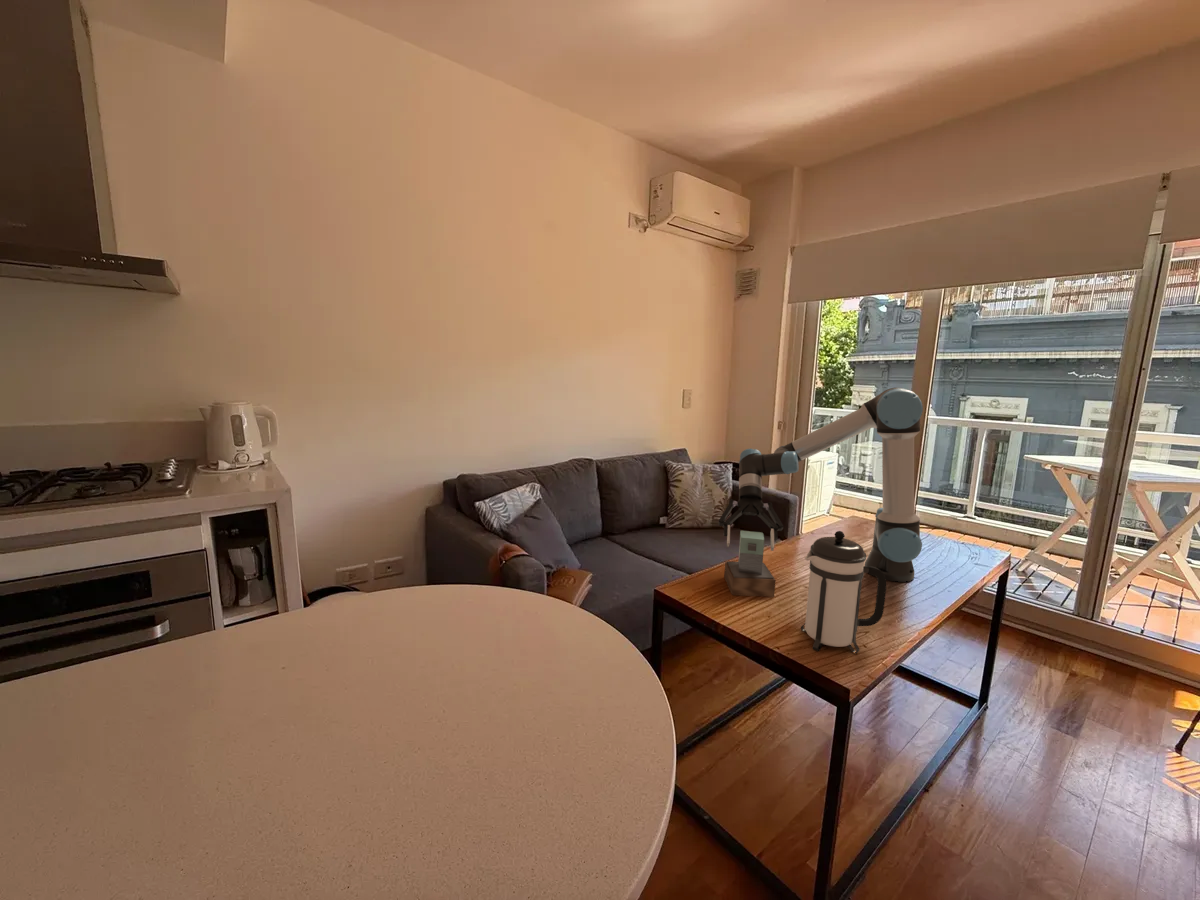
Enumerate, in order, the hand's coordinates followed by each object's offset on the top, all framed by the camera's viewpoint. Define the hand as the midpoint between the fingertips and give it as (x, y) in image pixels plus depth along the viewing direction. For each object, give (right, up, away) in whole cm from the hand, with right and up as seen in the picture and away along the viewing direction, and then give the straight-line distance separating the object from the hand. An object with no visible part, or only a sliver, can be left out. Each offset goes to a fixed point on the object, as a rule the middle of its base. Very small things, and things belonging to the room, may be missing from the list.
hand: (750, 547), depth 160 cm
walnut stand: (0, -13, +3) cm, 14 cm away
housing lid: (0, -1, +1) cm, 1 cm away
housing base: (0, -7, +2) cm, 8 cm away
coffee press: (+13, -19, -29) cm, 37 cm away
